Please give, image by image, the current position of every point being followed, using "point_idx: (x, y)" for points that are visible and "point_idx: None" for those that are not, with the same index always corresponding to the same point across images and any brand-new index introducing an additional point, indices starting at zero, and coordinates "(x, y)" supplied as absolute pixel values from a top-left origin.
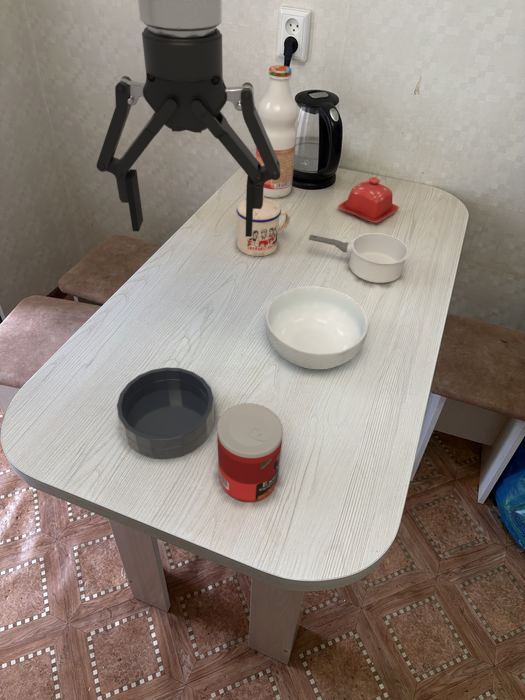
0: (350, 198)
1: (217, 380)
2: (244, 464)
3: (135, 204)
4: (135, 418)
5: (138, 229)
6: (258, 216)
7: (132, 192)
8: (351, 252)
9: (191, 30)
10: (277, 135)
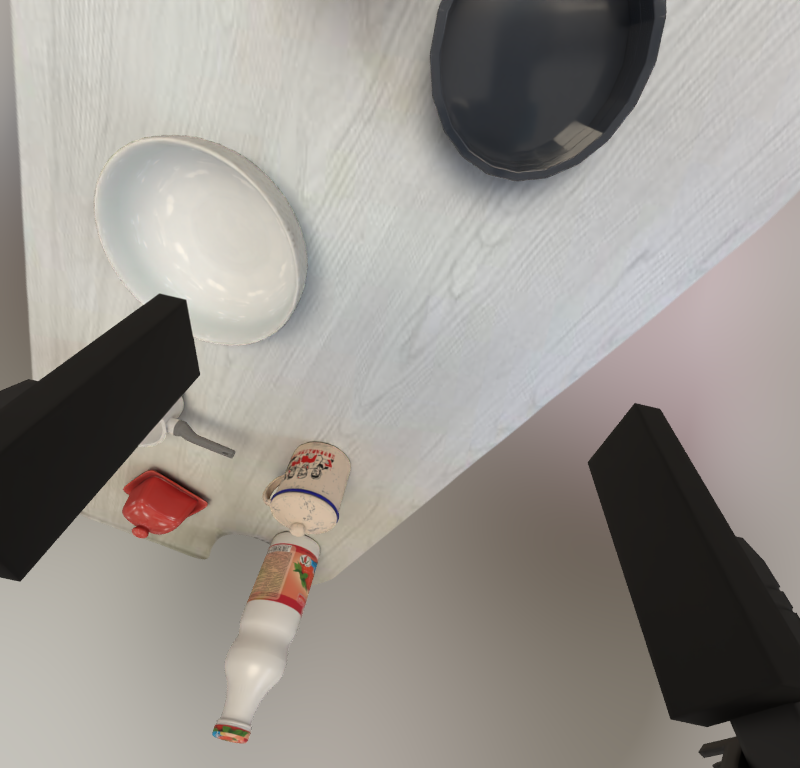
0: (183, 512)
1: (413, 173)
2: None
3: (686, 513)
4: (597, 77)
5: (639, 409)
6: (303, 499)
7: (737, 585)
8: (170, 417)
9: None
10: (264, 624)
